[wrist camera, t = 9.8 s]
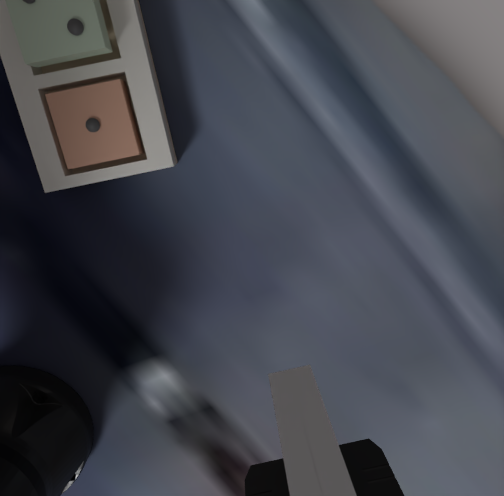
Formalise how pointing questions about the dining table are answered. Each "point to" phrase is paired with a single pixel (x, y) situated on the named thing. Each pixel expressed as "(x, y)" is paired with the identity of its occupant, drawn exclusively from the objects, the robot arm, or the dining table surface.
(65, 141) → the tile one
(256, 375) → the dining table surface
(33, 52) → the tile two
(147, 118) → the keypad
